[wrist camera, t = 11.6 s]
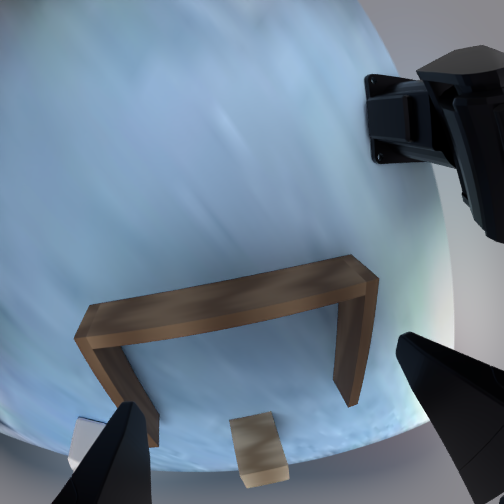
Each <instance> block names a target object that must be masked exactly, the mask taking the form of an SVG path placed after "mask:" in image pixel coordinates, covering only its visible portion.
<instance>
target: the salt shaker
mask: <svg viewBox="0 0 504 504" xmlns="http://www.w3.org/2000/svg"><path fill="white" fill-rule="evenodd" d="M105 426H106V424H104V423H100V422H96V421H92V420H88V419H84V418H78V419H77V421H76V424H75V428H74V432H73V437H72V441H71V446H70V451H69V456H68V461H69V464H70V467H71V468H72V469H73V473H74V471H75V470H76V468H77V467H78V465H79V464H80V462H81V461H82V459H83V458H84V456H85V455H86V453H87V452H88V450H89V449H90V447H91V446H92V445H93V443H94V442H95V440H96V439H97V437H98V436H99V434H100V433H101V431H102V430H103V429H104V427H105Z"/></svg>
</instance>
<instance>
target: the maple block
mask: <svg viewBox="0 0 504 504" xmlns="http://www.w3.org/2000/svg"><path fill="white" fill-rule="evenodd" d="M229 422H230V427H231V433H232V438H233V443H234V449H235V454H236V459H237V464H238V469H239V474H240V477H241V478H242V480H243V482H244V484H245V486H246V487H247V488H251V487H257V486H262V485H266V484H271V483H276V482H280V481H284V480H288V479H289V469H288V463H287V460H286V457H285V454H284V451H283V448H282V445H281V442H280V438H279V435H278V432H277V429H276V426H275V422H274V419H273V416H272V413H271V411H270V412H265V413H261V414H257V415H252V416H247V417H242V418H237V419H232V420H229Z"/></svg>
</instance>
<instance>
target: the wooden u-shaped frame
mask: <svg viewBox="0 0 504 504" xmlns="http://www.w3.org/2000/svg"><path fill="white" fill-rule="evenodd" d="M378 285H379V278H378V277H377V276H376V275H375V274H374V273H372V272H371V271H370V270H369V269H368V268H367V267H366V266H364V265H363V264H362V263H361V262H360V261H359V260H357V259H356V258H355V257H354V256H353V255H351V254H350V255H346V256H341V257H337V258H332V259H327V260H323V261H318V262H314V263H309V264H304V265H300V266H295V267H290V268H285V269H280V270H276V271H271V272H266V273H261V274H256V275H251V276H246V277H241V278H236V279H231V280H226V281H221V282H216V283H211V284H205V285H200V286H195V287H190V288H184V289H179V290H173V291H168V292H162V293H157V294H151V295H146V296H140V297H135V298H129V299H123V300H117V301H111V302H105V303H99V304H93V305H89V307H88V309H87V311H86V313H85V315H84V317H83V320H82V322H81V324H80V326H79V328H78V330H77V332H76V334H75V337H74V340H75V342H76V344H77V346H78V347H79V349H80V351H81V353H82V354H83V356H84V358H85V359H86V361H87V363H88V364H89V366H90V368H91V369H92V371H93V373H94V374H95V376H96V377H97V379H98V380H99V382H100V383H101V385H102V386H103V388H104V389H105V391H106V392H107V394H108V395H109V397H110V398H111V400H112V401H113V402H114V404H115V405H116V407H117V408H118V407H119V405H120V404H121V403H122V402H124V401H134V402H135V403H136V404H137V406H138V407H139V408H140V410H141V411H142V412H143V414H144V416H145V418H146V426H147V436H148V444H149V448H151V447H159V416H160V415H159V414H158V412H157V410H156V409H155V407H154V406H153V404H152V402H151V401H150V399H149V397H148V396H147V394H146V392H145V391H144V389H143V387H142V386H141V384H140V382H139V380H138V378H137V377H136V375H135V373H134V371H133V369H132V368H131V366H130V364H129V362H128V360H127V358H126V356H125V354H124V352H123V350H122V348H121V346H123V345H131V344H138V343H146V342H152V341H159V340H166V339H172V338H178V337H184V336H190V335H196V334H201V333H207V332H212V331H218V330H223V329H228V328H233V327H238V326H243V325H247V324H252V323H257V322H261V321H266V320H270V319H275V318H279V317H283V316H288V315H292V314H296V313H300V312H304V311H308V310H312V309H316V308H320V307H324V306H328V305H331V304H335V303H338V322H337V338H336V351H335V363H334V373H333V381H334V383H335V384H336V386H337V388H338V390H339V392H340V393H341V395H342V397H343V399H344V401H345V403H346V405H347V406H348V407H351V406H354V405H356V404H358V400H359V396H360V392H361V388H362V383H363V379H364V374H365V369H366V364H367V359H368V354H369V348H370V343H371V337H372V331H373V324H374V317H375V310H376V303H377V294H378Z"/></svg>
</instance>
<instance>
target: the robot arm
mask: <svg viewBox="0 0 504 504" xmlns="http://www.w3.org/2000/svg"><path fill="white" fill-rule="evenodd" d="M416 72H417V74H418V76H419V78H420V80H412V79H405V78H400V77H393V76H386V75H378V74H369V75H367V76H366V77H365V84H366V92H367V109H368V120H369V132H370V136H371V150H372V159H373V161H374V162H375V163H379V164H388V163H407V162H430V163H435V164H439V165H443V166H447V167H451V168H454V169H457V173H458V176H459V180H460V184H461V187H462V198H463V201H464V202H465V203H466V204H467V205H468V206H469V207H470V210H471V212H472V215H473V218H474V220H475V221H476V222H477V223H478V225H480V227H481V228H482V229H483V230H484V231H485V234H486V236H487V237H489V238H490V239H492V240H494V241H496V242H500V243H503V244H504V53H503V52H500V51H498V50H495V49H492V48H489V47H487V46H484V45H479V46H473V47H468V48H463V49H458V50H454V51H452V52H450V53H448V54H446V55H444V56H442V57H440V58H439V59H436V60H435V61H433V62H431V63H429V64H427V65H425V66H423V67H422V68H420V69H418V70H416ZM371 78H372V79H373V81H374V83H372V82H371ZM379 154H380V159H378V155H379ZM396 357H397V360H398V362H399V364H400V366H401V368H402V370H403V372H404V374H405V376H406V378H407V380H408V383H409V385H410V387H411V389H412V391H413V392H414V394H415V396H416V397H417V399H418V401H419V402H420V404H421V406H422V407H423V409H424V411H425V412H426V414H427V416H428V417H429V419H430V421H431V423H432V424H433V426H434V428H435V429H436V431H437V433H438V435H439V436H440V438H441V440H442V442H443V443H444V445H445V447H446V449H447V451H448V453H449V454H450V456H451V458H452V460H453V462H454V464H455V466H456V468H457V469H458V471H459V474H460V476H461V477H462V479H463V481H464V483H465V485H466V487H467V489H468V491H469V493H470V495H471V497H472V499H473V501H474V503H475V504H485V503H487V502H489V501H491V500H492V499H494V498H495V497H497V496H499V495H500V494H502V493H503V492H504V371H503V370H500V369H498V368H496V367H493V366H490V365H488V364H486V363H483V362H481V361H479V360H476V359H474V358H471V357H469V356H467V355H464V354H462V353H459V352H457V351H455V350H453V349H450V348H448V347H446V346H443V345H441V344H438V343H436V342H434V341H431V340H429V339H427V338H424V337H422V336H420V335H417V334H415V333H413V332H406V333H404V334H402V335H400V336H399V339H398V343H397V348H396ZM150 475H151V472H150V453H149V444H148V436H147V426H146V418H145V416H144V414H143V412H142V411H141V410H140V408H139V407H138V406H137V404H136V403H135V402H134V401H124V402H122V403H121V404H120V405H119V407H118V408H117V410H116V411H115V413H114V414H113V415H112V417H111V418H110V420H109V421H108V423H107V424H106V426H105V427H104V429H103V430H102V431H101V433H100V434H99V436H98V437H97V439H96V440H95V442H94V443H93V445H92V446H91V447H90V449H89V450H88V452H87V453H86V455H85V456H84V458H83V459H82V461H81V462H80V464H79V465H78V467H77V468H76V470H75V471H74V473H73V474H72V477H70V479H69V480H68V482H67V483H66V485H65V486H64V487H63V489H62V490H61V492H60V493H59V494H58V496H57V497H56V498H55V500H54V501H53V502H52V504H152V500H151V476H150ZM499 504H504V495H503V496H502V497H501V498H500V502H499Z"/></svg>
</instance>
